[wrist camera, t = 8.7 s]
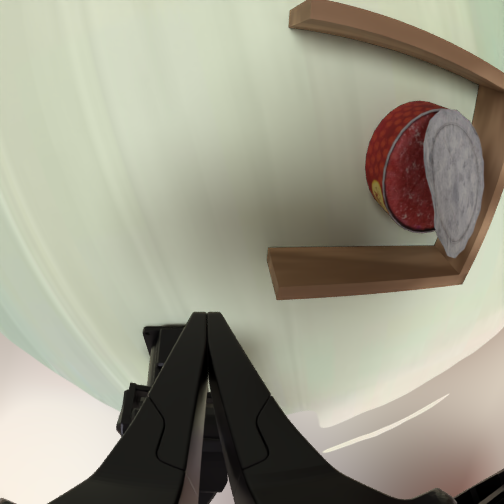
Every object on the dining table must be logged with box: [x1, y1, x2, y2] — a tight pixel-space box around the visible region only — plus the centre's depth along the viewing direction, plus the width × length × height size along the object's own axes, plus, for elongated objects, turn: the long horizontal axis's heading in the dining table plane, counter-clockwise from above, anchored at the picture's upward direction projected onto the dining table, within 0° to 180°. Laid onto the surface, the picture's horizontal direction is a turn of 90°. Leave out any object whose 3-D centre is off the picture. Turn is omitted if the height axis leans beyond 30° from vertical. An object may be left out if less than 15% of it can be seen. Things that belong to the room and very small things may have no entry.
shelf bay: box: [267, 0, 504, 300], centre depth 18 cm, size 18×18×4 cm
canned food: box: [365, 101, 484, 258], centre depth 18 cm, size 11×10×10 cm
